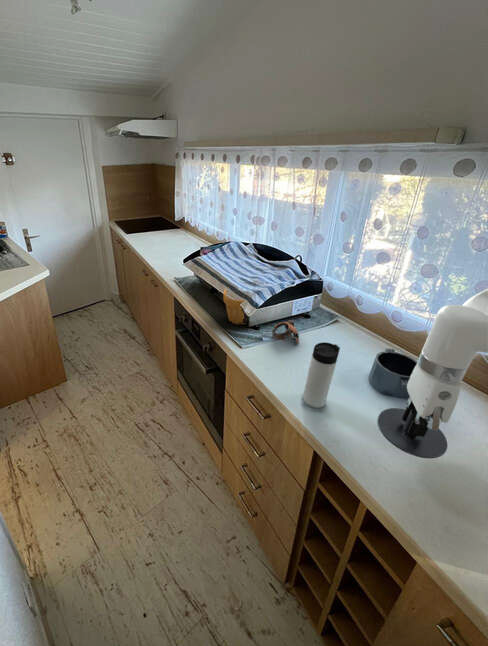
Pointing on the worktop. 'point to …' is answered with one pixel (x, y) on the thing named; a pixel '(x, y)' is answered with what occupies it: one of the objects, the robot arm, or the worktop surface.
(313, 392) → the travel mug
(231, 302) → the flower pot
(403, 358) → the pot
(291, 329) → the brown goggles
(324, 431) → the worktop surface
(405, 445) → the lid
